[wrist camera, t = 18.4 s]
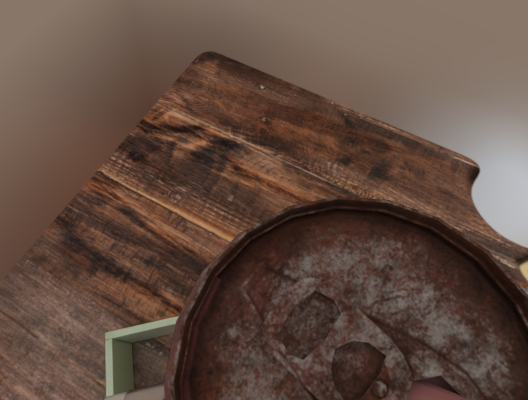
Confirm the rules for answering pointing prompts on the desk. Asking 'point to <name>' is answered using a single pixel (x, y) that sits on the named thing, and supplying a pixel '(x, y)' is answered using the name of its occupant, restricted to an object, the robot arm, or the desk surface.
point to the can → (351, 312)
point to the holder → (129, 352)
